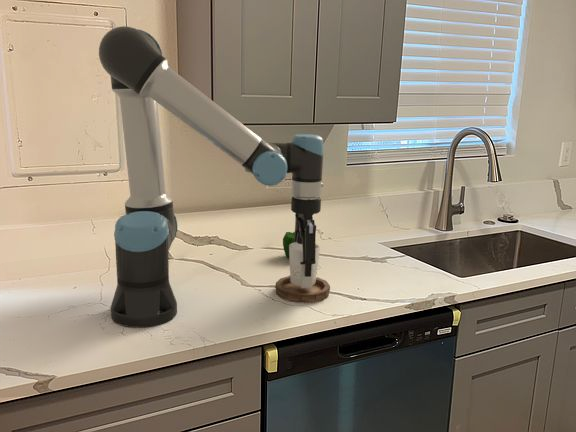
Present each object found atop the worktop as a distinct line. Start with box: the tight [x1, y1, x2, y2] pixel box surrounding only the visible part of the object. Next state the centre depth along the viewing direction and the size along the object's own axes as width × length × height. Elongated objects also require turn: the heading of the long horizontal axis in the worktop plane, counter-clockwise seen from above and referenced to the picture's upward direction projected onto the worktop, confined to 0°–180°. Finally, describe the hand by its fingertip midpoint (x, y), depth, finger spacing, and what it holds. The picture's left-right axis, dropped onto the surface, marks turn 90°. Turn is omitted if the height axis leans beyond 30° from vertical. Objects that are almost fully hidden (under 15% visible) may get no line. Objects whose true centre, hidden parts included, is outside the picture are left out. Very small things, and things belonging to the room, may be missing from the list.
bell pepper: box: [282, 231, 295, 259], centre depth 175 cm, size 8×8×10 cm
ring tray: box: [275, 275, 331, 304], centre depth 149 cm, size 14×14×2 cm
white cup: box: [288, 242, 321, 286], centre depth 147 cm, size 8×8×10 cm
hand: (303, 281), depth 148 cm, fingers closed on white cup, 8 cm apart
